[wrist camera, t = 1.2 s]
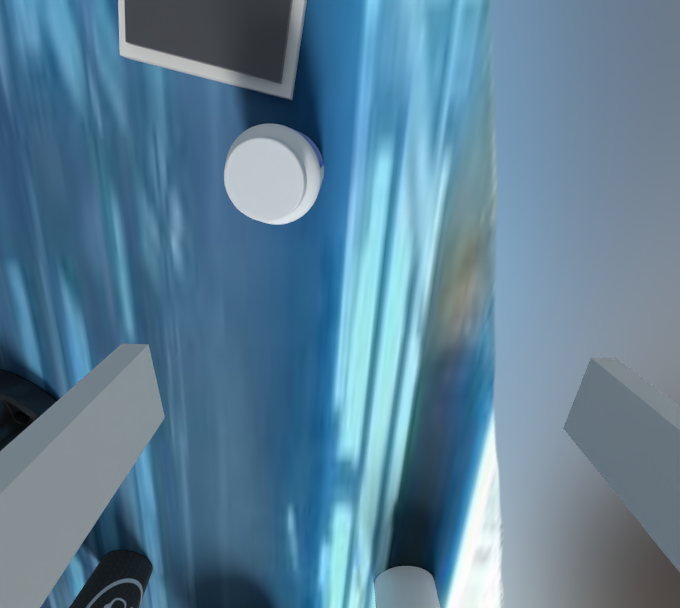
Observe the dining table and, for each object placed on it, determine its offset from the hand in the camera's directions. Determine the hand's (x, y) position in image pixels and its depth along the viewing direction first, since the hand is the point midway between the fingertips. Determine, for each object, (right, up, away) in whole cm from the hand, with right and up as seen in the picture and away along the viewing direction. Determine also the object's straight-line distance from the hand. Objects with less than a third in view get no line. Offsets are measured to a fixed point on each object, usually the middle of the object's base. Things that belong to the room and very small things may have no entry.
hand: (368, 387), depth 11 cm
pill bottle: (-5, +13, +15) cm, 20 cm away
